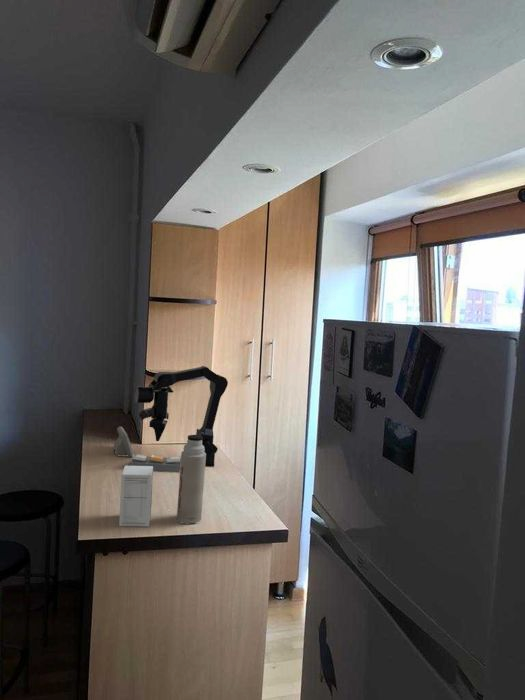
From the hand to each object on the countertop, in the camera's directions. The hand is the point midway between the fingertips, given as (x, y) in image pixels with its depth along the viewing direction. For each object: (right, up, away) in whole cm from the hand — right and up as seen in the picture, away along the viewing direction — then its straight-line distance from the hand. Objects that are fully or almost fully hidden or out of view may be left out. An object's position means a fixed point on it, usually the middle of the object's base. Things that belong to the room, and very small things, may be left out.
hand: (158, 439), depth 230 cm
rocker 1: (-7, -7, -2) cm, 11 cm away
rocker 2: (+6, -8, -1) cm, 11 cm away
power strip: (-1, -12, +1) cm, 12 cm away
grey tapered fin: (-18, -9, +18) cm, 27 cm away
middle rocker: (0, -8, -1) cm, 8 cm away
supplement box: (+3, -18, -53) cm, 56 cm away
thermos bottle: (+19, -19, -49) cm, 56 cm away
